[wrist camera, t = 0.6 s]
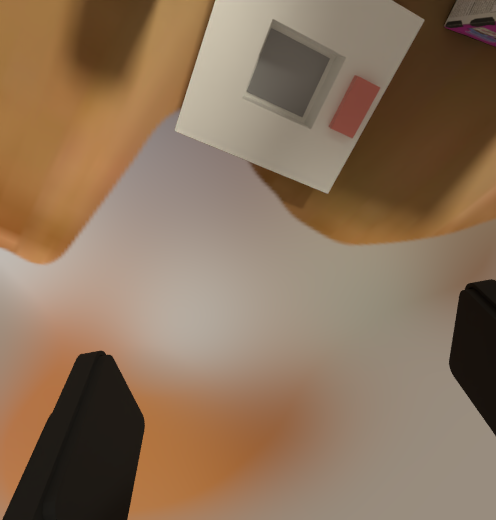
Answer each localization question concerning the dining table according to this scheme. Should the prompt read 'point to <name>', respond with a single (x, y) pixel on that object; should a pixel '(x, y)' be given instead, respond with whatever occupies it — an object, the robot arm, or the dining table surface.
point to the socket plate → (294, 80)
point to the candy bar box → (474, 19)
